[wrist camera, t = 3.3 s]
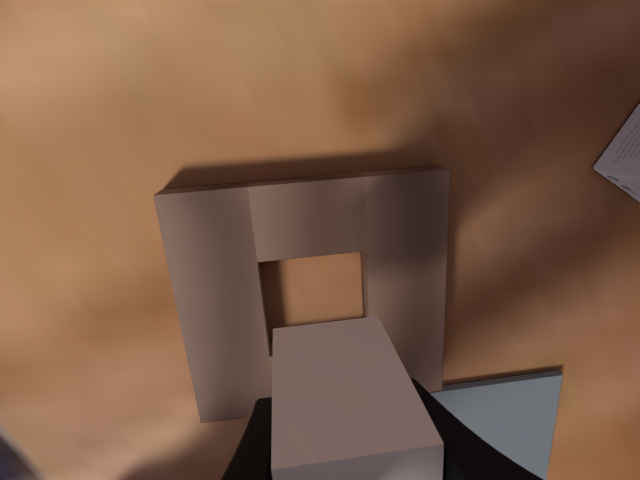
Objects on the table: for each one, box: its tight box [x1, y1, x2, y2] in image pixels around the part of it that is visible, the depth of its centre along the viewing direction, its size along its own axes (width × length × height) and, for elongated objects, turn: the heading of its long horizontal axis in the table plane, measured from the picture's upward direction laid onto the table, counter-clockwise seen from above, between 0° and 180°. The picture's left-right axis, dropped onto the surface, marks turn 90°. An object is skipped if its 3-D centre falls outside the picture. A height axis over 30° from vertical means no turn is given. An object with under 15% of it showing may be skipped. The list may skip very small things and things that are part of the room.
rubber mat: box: [429, 370, 562, 480], centre depth 26 cm, size 9×9×1 cm
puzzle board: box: [153, 166, 451, 423], centre depth 21 cm, size 14×13×2 cm
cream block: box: [271, 316, 444, 480], centre depth 12 cm, size 4×4×6 cm
